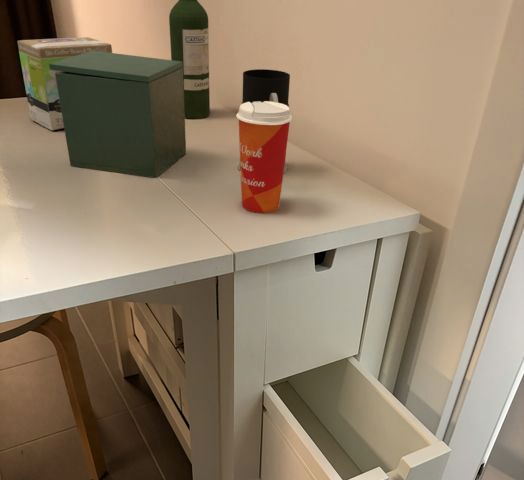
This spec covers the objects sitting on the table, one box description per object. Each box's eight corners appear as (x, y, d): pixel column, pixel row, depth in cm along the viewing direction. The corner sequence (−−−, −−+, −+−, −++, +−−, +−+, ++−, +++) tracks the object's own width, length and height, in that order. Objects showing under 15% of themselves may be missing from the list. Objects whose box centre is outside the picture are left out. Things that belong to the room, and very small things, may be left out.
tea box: (52, 132, 108) (37, 47, 99) (30, 120, 114) (14, 39, 105) (120, 121, 117) (112, 41, 108) (96, 110, 122) (86, 34, 113)
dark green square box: (70, 166, 93) (54, 73, 85) (108, 143, 104) (98, 59, 96) (156, 178, 91) (149, 83, 82) (186, 153, 101) (182, 67, 93)
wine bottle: (196, 121, 119) (191, -51, 101) (166, 115, 122) (156, -53, 104) (216, 113, 125) (215, -51, 107) (188, 108, 128) (182, -53, 110)
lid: (49, 69, 85) (48, 63, 84) (93, 56, 95) (92, 50, 95) (148, 82, 82) (148, 76, 82) (182, 67, 93) (182, 61, 92)
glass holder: (282, 159, 101) (288, 68, 92) (298, 188, 90) (306, 88, 81) (234, 160, 100) (235, 68, 91) (245, 189, 88) (247, 87, 79)
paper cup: (228, 198, 85) (228, 101, 76) (274, 193, 87) (280, 98, 79) (245, 218, 79) (248, 115, 71) (294, 213, 81) (302, 112, 73)
